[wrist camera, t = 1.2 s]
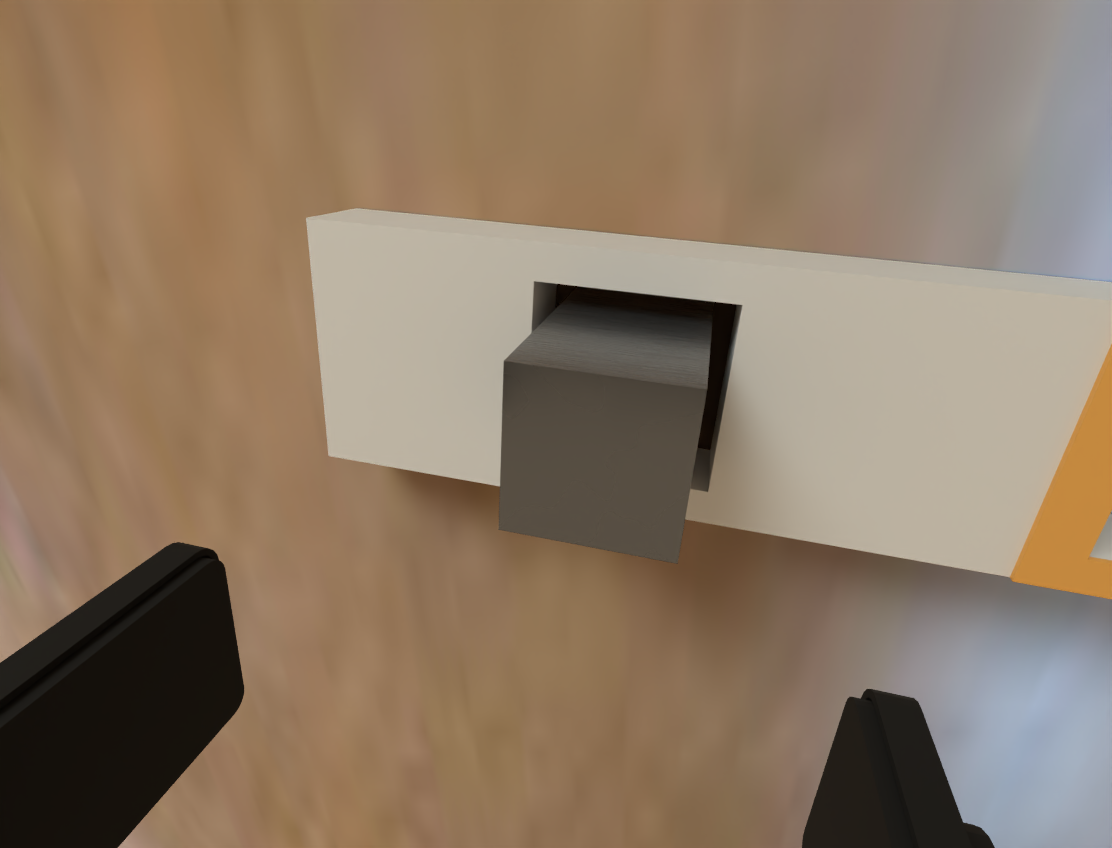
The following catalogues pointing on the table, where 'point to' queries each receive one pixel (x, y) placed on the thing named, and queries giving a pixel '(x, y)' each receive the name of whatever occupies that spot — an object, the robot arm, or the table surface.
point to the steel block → (606, 422)
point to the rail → (757, 383)
